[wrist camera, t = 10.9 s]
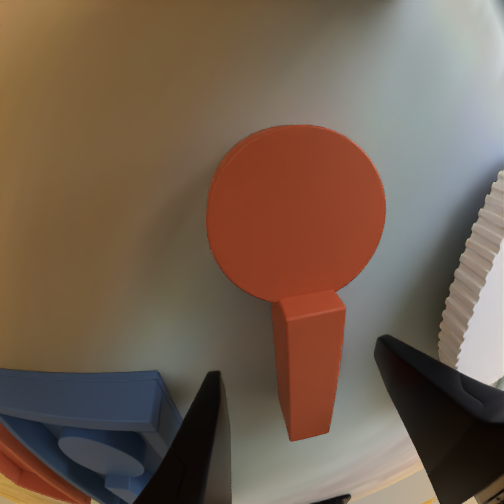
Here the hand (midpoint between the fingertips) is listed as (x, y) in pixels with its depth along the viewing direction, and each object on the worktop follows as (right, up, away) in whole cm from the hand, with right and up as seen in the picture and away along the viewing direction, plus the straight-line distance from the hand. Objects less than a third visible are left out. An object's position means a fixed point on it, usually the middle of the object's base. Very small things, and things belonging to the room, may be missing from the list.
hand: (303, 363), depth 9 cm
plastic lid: (+13, +3, +2) cm, 13 cm away
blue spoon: (-9, -9, +3) cm, 13 cm away
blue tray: (-9, -8, +3) cm, 13 cm away
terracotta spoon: (0, +2, 0) cm, 2 cm away
